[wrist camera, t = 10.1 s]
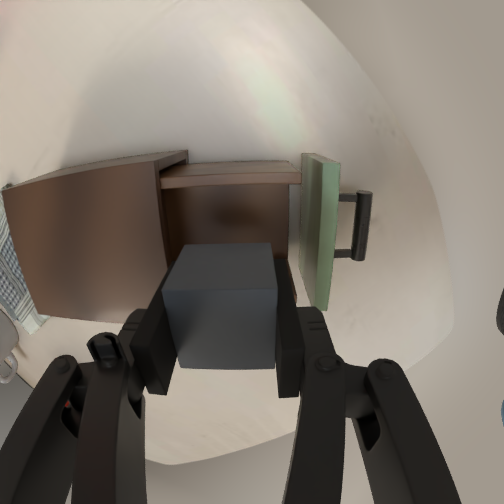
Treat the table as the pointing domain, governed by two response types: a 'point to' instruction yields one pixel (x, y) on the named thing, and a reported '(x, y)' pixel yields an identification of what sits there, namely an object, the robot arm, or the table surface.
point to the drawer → (264, 212)
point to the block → (223, 306)
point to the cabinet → (92, 236)
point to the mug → (7, 345)
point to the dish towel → (15, 281)
